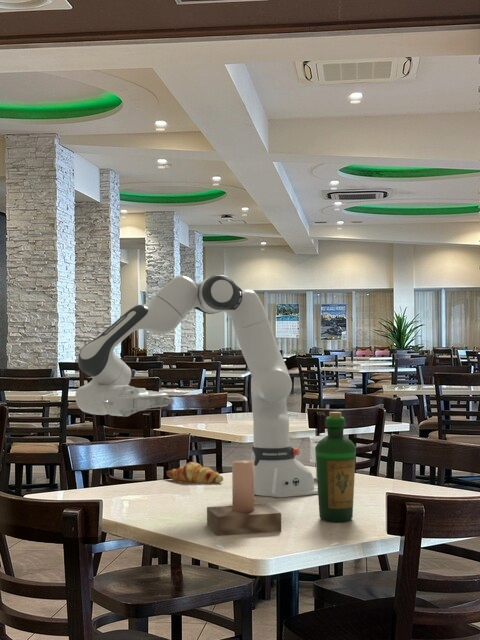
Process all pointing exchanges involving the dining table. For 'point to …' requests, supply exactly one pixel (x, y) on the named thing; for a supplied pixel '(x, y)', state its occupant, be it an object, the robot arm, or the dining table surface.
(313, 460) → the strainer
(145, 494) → the dining table surface
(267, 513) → the brown rectangular block
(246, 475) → the pink upright cylinder
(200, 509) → the dining table surface
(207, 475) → the croissant
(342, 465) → the bottle
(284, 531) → the dining table surface
